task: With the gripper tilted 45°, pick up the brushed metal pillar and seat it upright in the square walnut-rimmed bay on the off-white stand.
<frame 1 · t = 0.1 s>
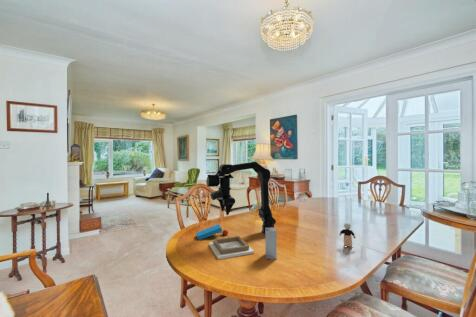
hand: (224, 213, 129), 15 cm above the table, tool pointing down, fingers open, 9 cm apart
brushed metal pillar: (270, 256, 106), on the table
lever: (212, 237, 133), on the table
grandmother figurine: (347, 247, 117), on the table
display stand: (230, 248, 115), on the table
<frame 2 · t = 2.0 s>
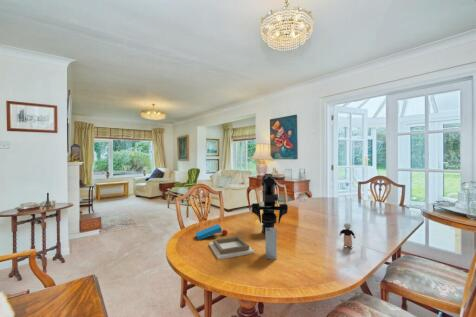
hand: (269, 223, 114), 13 cm above the table, tool tilted 45°, fingers open, 9 cm apart
nothing on the table moved.
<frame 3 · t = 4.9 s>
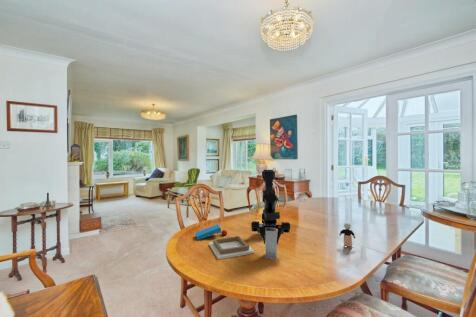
hand: (270, 243, 104), 7 cm above the table, tool tilted 45°, fingers closed on brushed metal pillar, 5 cm apart
brushed metal pillar: (270, 256, 106), on the table, touching gripper
everything else where it was.
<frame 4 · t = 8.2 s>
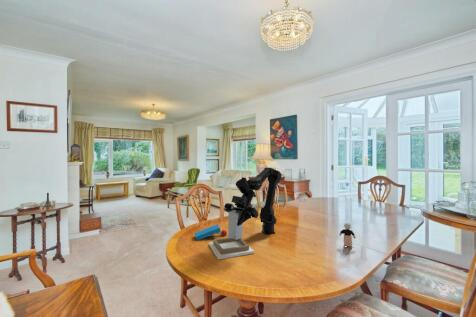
hand: (233, 224, 111), 13 cm above the table, tool tilted 45°, fingers closed on brushed metal pillar, 5 cm apart
brushed metal pillar: (235, 237, 112), point 7 cm above the table, touching gripper
everything else where it was.
when the fingers open (9 cm above the table, at t = 10.4 s): brushed metal pillar drops 1 cm, resting on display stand.
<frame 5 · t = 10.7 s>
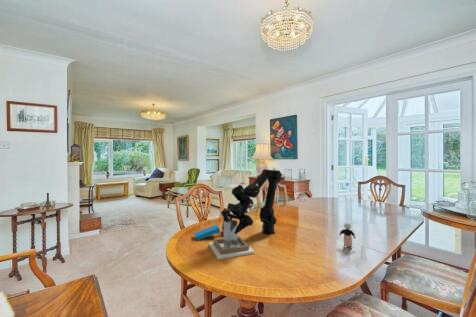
hand: (228, 231, 113), 9 cm above the table, tool tilted 45°, fingers open, 9 cm apart
brushed metal pillar: (230, 246, 115), point 1 cm above the table, touching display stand
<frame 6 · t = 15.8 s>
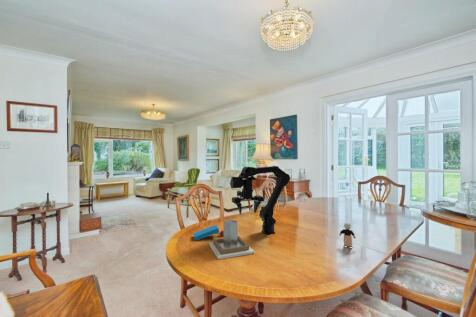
hand: (247, 213, 134), 13 cm above the table, tool pointing down, fingers open, 9 cm apart
at the end: brushed metal pillar inside the target area on the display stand (0.0 cm from its centre), point 1.2 cm above the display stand's base; brushed metal pillar tilted 0°; the gripper is holding nothing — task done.
